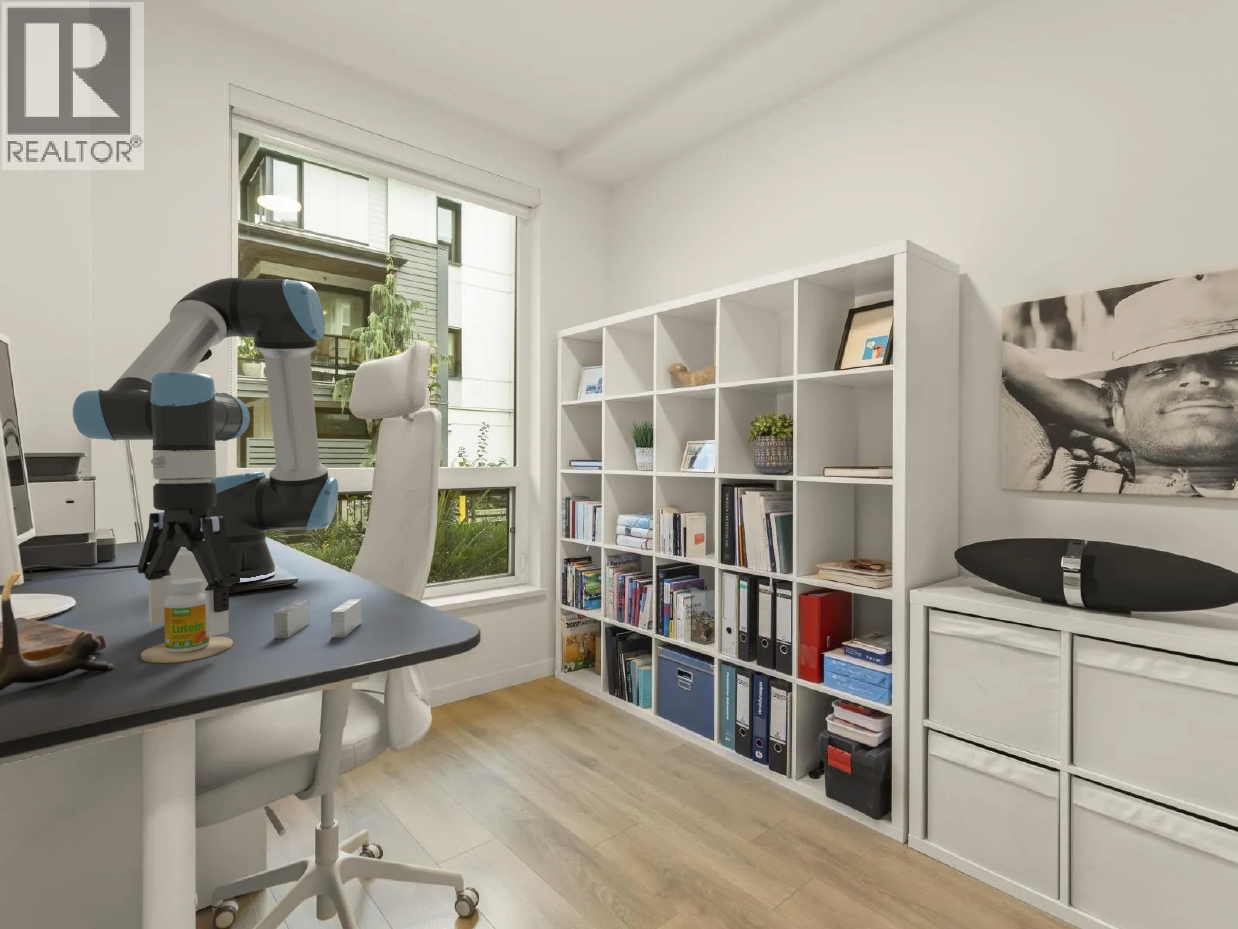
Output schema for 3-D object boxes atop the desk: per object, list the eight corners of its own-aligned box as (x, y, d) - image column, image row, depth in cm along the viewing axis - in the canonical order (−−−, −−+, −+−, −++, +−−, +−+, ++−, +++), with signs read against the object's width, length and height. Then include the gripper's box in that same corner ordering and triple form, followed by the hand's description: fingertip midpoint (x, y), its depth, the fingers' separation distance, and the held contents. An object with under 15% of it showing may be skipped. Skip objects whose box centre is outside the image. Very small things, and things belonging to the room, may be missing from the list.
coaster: (172, 639, 98) (172, 636, 98) (247, 638, 99) (247, 635, 99) (121, 664, 87) (121, 661, 87) (206, 662, 88) (206, 659, 88)
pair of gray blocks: (296, 624, 107) (296, 600, 107) (361, 623, 108) (361, 599, 107) (274, 638, 99) (273, 612, 99) (344, 637, 100) (344, 611, 99)
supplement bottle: (167, 656, 89) (166, 586, 89) (162, 647, 93) (161, 580, 93) (212, 648, 93) (211, 581, 93) (206, 639, 97) (205, 575, 97)
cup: (192, 632, 102) (190, 556, 102) (144, 628, 104) (143, 554, 104) (236, 617, 111) (235, 547, 111) (192, 614, 113) (190, 545, 113)
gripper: (107, 480, 95) (110, 623, 95) (213, 485, 84) (215, 647, 84) (162, 477, 101) (165, 611, 102) (266, 482, 90) (269, 632, 91)
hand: (188, 628), depth 93 cm, fingers open, 13 cm apart
